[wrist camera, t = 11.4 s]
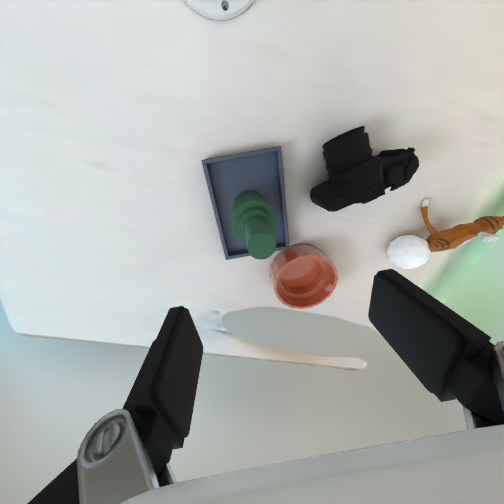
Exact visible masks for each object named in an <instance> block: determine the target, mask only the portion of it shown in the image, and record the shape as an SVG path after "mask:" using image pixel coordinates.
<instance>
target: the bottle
mask: <svg viewBox="0 0 504 504" xmlns="http://www.w3.org/2000/svg"><path fill="white" fill-rule="evenodd" d="M232 228H233V231H234V233H235V235H236V236H237V238H238V239H239V240H241V241H242V242H244V243H247V250H248V252H249V254H250V255H251V256H252V257H254V258H256V259H266V258H268V257H270V256H271V255H272V254H273V253H274V251H275V249H276V241H275V239H274V237H273V234H274V233H275V231H276V228H277V216H276V213H275V211H274V210H273V208H272V207H271V206H270V205H269V203H268V202H267V201H266V200H265V198H264V197H263V196H262V195H261V194H260V193H258V192H256V191H253V190H247V191H244V192H242V193H240V194H239V195H238V196H237V197H236V198H235V200H234V203H233V213H232Z"/></svg>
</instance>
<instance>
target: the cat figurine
mask: <svg viewBox="0 0 504 504" xmlns="http://www.w3.org/2000/svg"><path fill="white" fill-rule="evenodd" d="M428 205H429V199H428V198H426V199H425V200H424V201H423V202H422V205H421V211H422V217H423V220H424V222H425V225H426V226H427V228H428V230H429V231H430V233H431V235H430V236H429V237H428V238H427V239H426V240H424V239H421V238H419V237H417V236H415V235H405V236H399V237H397V238H396V239H394V240H393V241H391V242H390V243H389V246H388V249H387V255H388V258H389V260H390V261H391V262H392V263H393V264H395V265H396V266H398V267H401V268H405V269H413V268H417V267H419V266H421V265H422V264H424V263H426V262H428V259H429V256H430V254H431V252H436V251H444V250H448V249H453V248H456V247H459V246H461V245H463V244H465V243H467V242H468V241H470V240H471V239H473V238H474V237H475V236H476V235H477V236H479V237H481V240H482V241H483V242H486V241H487V242H489V243H490V242H491V241H492V242H495V241H496V240H498V239H499V238H498V235H496V234H495V233H496V232H497V231H498V230H499V229H501V228H503V225H504V216H502V217H497V216H485V217H481V218H479V219H477V220H475V221H474V222H473V223H468V224H460V225H457V226H455V227H453V228H451V229H447V230H443V231H439V232H437V231H435V230H434V228H433V227H432V226H431V224H430V222H429V220H428V213H427V209H428Z"/></svg>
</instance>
